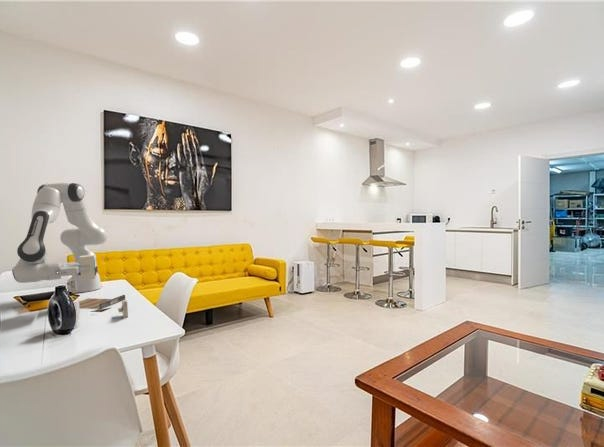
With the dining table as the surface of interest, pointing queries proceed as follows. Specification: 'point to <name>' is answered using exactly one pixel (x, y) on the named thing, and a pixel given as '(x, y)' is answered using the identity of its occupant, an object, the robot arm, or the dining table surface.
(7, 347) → the dining table surface
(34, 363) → the dining table surface
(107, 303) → the shelf plank
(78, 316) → the white cup
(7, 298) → the dining table surface
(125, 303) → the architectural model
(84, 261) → the carton
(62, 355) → the dining table surface
